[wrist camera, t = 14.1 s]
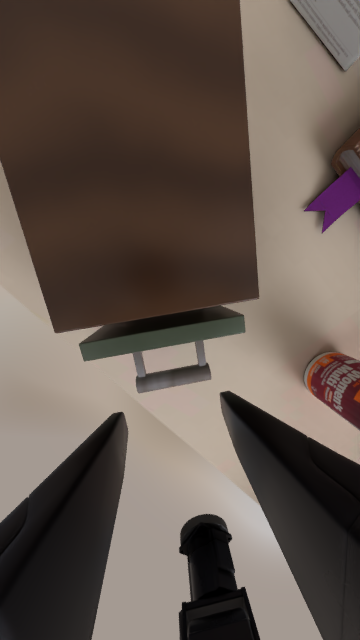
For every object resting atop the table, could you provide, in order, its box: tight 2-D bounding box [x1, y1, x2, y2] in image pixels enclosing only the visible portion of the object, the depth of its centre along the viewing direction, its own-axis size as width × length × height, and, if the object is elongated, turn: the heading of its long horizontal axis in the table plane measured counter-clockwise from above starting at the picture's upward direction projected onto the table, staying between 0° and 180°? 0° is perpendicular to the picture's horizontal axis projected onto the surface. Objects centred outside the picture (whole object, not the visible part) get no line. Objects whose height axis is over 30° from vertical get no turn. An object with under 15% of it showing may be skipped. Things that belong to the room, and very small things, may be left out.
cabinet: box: [0, 0, 259, 333], centre depth 14 cm, size 14×12×10 cm
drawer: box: [79, 305, 245, 393], centre depth 15 cm, size 17×10×8 cm, turn 9°
